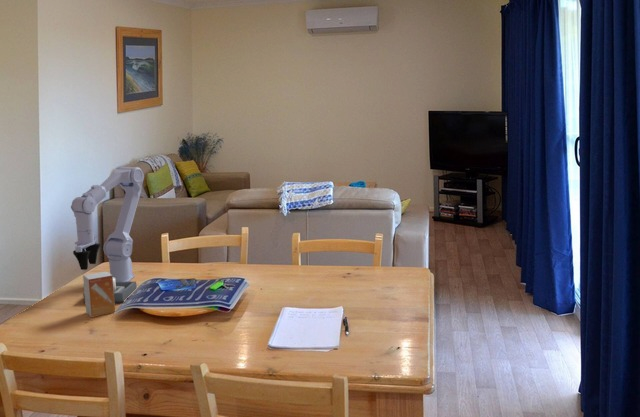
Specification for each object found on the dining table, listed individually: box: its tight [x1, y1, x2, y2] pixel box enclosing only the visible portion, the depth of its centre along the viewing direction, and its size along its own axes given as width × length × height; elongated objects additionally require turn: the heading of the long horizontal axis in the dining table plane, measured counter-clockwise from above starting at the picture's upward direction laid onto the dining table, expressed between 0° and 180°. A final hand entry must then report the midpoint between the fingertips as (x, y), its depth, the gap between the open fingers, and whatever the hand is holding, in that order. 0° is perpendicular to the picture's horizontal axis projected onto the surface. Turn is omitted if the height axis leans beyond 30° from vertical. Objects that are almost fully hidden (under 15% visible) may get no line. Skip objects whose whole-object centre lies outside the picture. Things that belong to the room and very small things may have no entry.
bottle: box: [111, 274, 116, 292], centre depth 256 cm, size 4×4×8 cm
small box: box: [82, 271, 116, 318], centre depth 239 cm, size 8×6×13 cm
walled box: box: [83, 280, 138, 304], centre depth 257 cm, size 14×14×4 cm
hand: (88, 266), depth 262 cm, fingers open, 7 cm apart
